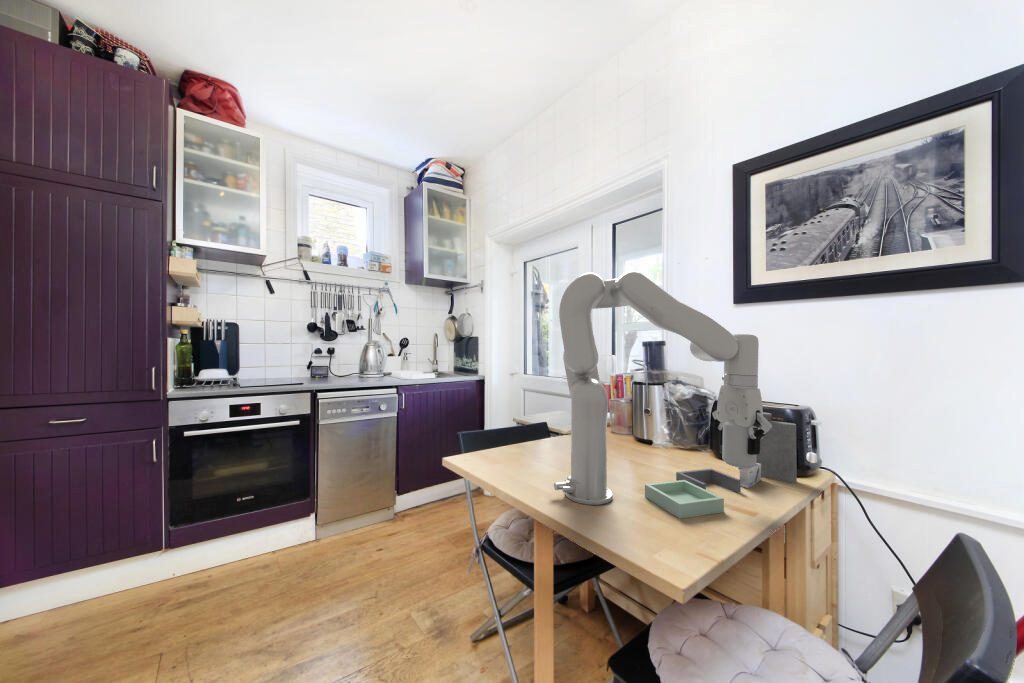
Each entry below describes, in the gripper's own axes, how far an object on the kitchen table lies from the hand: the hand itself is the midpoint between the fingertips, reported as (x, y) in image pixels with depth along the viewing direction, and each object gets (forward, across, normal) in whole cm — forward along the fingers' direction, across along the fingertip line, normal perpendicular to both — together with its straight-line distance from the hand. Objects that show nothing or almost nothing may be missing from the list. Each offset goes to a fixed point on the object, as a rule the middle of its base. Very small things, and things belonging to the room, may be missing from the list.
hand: (739, 449), depth 93 cm
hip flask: (+14, -15, +28) cm, 34 cm away
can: (+4, 0, 0) cm, 4 cm away
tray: (+14, -4, -14) cm, 21 cm away
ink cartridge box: (+14, -11, +17) cm, 24 cm away
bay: (+14, -10, +1) cm, 17 cm away
